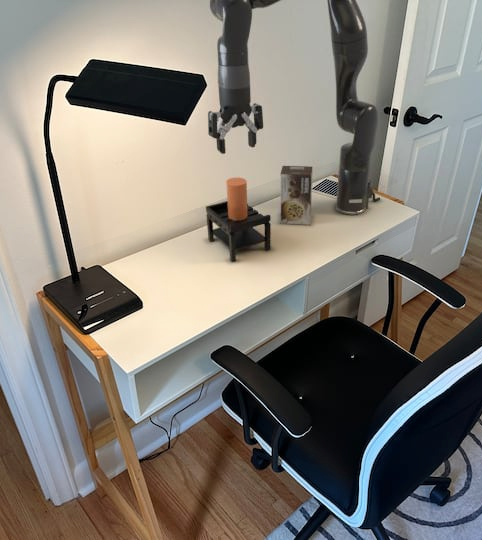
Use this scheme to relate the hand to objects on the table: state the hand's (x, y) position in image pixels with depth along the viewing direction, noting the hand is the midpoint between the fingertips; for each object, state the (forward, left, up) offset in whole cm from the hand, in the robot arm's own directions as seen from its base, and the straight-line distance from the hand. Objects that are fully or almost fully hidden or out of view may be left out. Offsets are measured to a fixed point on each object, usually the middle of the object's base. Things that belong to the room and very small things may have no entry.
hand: (237, 149), depth 130 cm
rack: (+2, +2, -27) cm, 27 cm away
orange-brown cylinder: (+2, +2, -18) cm, 18 cm away
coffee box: (-20, -2, -27) cm, 34 cm away
